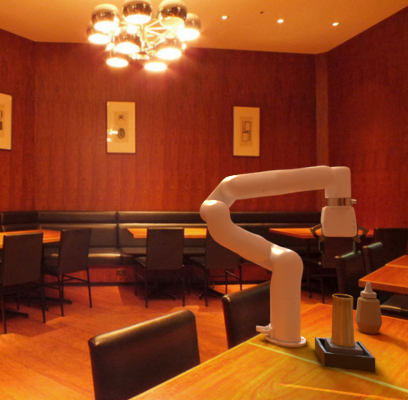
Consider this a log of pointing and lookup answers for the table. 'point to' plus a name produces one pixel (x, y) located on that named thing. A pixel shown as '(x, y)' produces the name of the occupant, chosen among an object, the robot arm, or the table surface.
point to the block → (342, 348)
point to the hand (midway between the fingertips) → (339, 253)
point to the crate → (345, 358)
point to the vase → (342, 320)
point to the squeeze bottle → (368, 311)
